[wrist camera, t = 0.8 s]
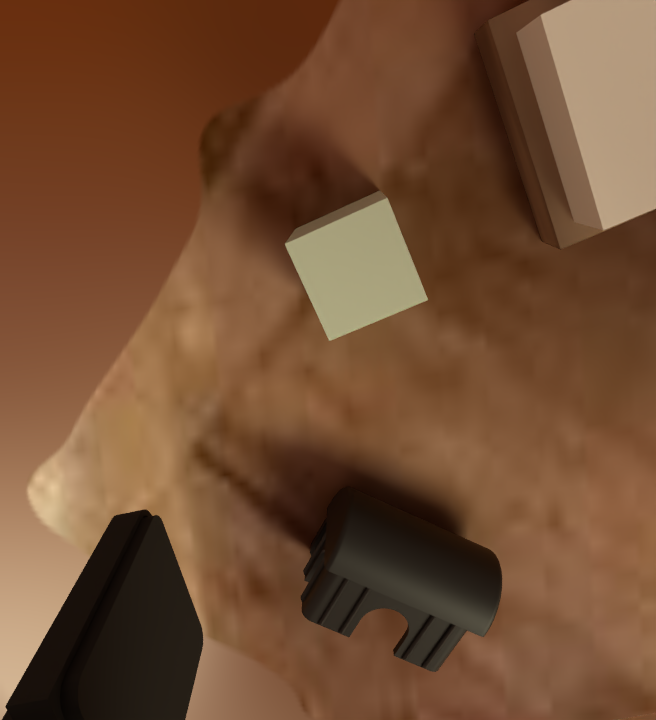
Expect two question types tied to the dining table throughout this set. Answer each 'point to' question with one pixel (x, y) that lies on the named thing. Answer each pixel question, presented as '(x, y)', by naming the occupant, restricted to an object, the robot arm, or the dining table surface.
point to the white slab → (598, 103)
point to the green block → (355, 265)
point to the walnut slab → (529, 123)
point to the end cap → (399, 577)
